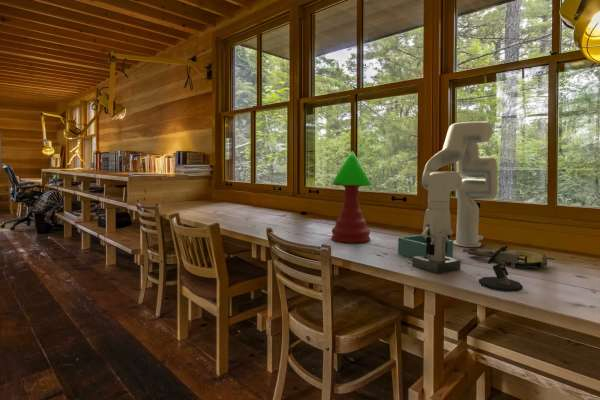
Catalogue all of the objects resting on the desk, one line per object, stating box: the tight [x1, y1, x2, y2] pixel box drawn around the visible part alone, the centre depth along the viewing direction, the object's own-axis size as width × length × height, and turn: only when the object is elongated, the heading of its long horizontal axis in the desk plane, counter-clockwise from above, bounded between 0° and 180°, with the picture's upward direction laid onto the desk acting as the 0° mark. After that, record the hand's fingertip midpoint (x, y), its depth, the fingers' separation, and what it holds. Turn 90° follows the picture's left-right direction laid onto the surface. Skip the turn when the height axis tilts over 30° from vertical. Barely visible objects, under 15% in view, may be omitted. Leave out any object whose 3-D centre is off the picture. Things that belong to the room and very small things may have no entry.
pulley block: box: [466, 248, 556, 271], centre depth 153 cm, size 14×6×30 cm
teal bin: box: [397, 234, 454, 259], centre depth 164 cm, size 16×16×7 cm
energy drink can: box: [428, 229, 446, 262], centre depth 144 cm, size 6×6×15 cm
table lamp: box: [330, 150, 372, 244], centre depth 195 cm, size 20×20×45 cm
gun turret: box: [462, 245, 527, 293], centre depth 126 cm, size 13×20×13 cm, turn 41°
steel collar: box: [412, 255, 462, 275], centre depth 145 cm, size 12×12×4 cm
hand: (436, 253), depth 144 cm, fingers closed on energy drink can, 6 cm apart
